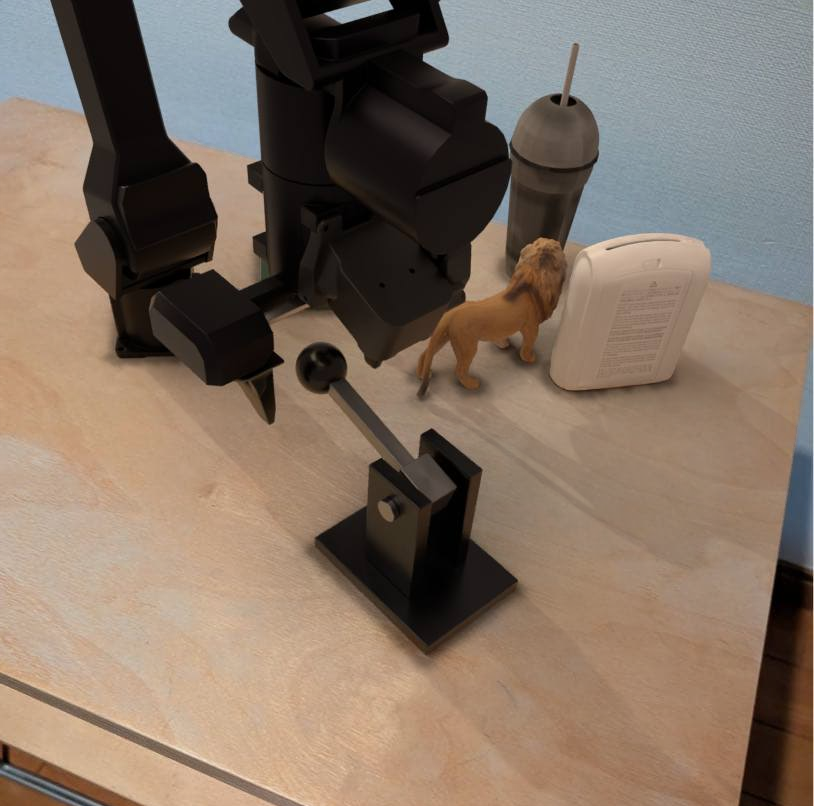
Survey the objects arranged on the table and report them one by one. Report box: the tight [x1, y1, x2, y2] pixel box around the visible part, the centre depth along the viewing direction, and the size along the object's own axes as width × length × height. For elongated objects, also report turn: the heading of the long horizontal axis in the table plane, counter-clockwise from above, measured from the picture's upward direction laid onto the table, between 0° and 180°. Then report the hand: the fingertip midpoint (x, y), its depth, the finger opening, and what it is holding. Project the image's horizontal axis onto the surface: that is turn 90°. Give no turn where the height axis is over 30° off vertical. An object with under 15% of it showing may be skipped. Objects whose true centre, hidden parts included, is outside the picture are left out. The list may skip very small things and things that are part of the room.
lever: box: [294, 341, 457, 517], centre depth 55 cm, size 13×3×3 cm, turn 42°
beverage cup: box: [504, 42, 600, 279], centre depth 74 cm, size 7×7×20 cm
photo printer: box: [549, 232, 712, 391], centre depth 69 cm, size 10×4×12 cm, turn 103°
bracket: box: [314, 427, 519, 656], centre depth 56 cm, size 11×8×10 cm
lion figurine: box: [415, 238, 569, 398], centre depth 70 cm, size 15×5×9 cm, turn 134°
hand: (321, 391), depth 58 cm, fingers open, 8 cm apart
